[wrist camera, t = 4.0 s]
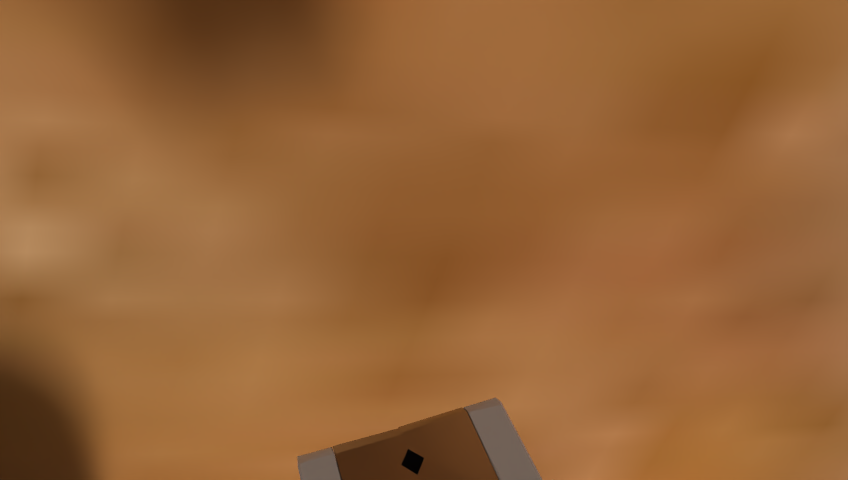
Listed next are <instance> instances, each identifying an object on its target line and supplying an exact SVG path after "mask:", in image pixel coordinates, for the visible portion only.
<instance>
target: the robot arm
mask: <svg viewBox="0 0 848 480" xmlns="http://www.w3.org/2000/svg"><path fill="white" fill-rule="evenodd" d="M333 449H334V452H333ZM333 449H332V447H330V448H326V449H322V450H319V451H315V452H312V453H308V454H305V455H301V456H298V469H299V474H300V479H301V480H542V478H541V476H540V474H539V473H538V471H537V469H536V467H535V465H534V463H533V461H532V459H531V457H530V456H529V454H528V452H527V450H526V448H525V446H524V444H523V442H522V440H521V439H520V437H519V435H518V433H517V431H516V429H515V427H514V425H513V424H512V422H511V420H510V418H509V416H508V414H507V412H506V410H505V408H504V407H503V405H502V403H501V402H500V401H499V400H498V399H497V398H493V399H490V400H486V401H483V402H480V403H477V404H473V405H470V406H467V407H464V408H458V409H455V410H452V411H449V412H446V413H442V414H439V415H436V416H433V417H430V418H426V419H423V420H420V421H417V422H414V423H410V424H407V425H404V426H401V427H398V429H394V430H391V431H387V432H383V433H380V434H376V435H372V436H369V437H365V438H361V439H357V440H354V441H350V442H346V443H343V444H339V445H335V446H333ZM334 454H335V455H334ZM335 458H336V459H335ZM336 462H337V463H336Z"/></svg>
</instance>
